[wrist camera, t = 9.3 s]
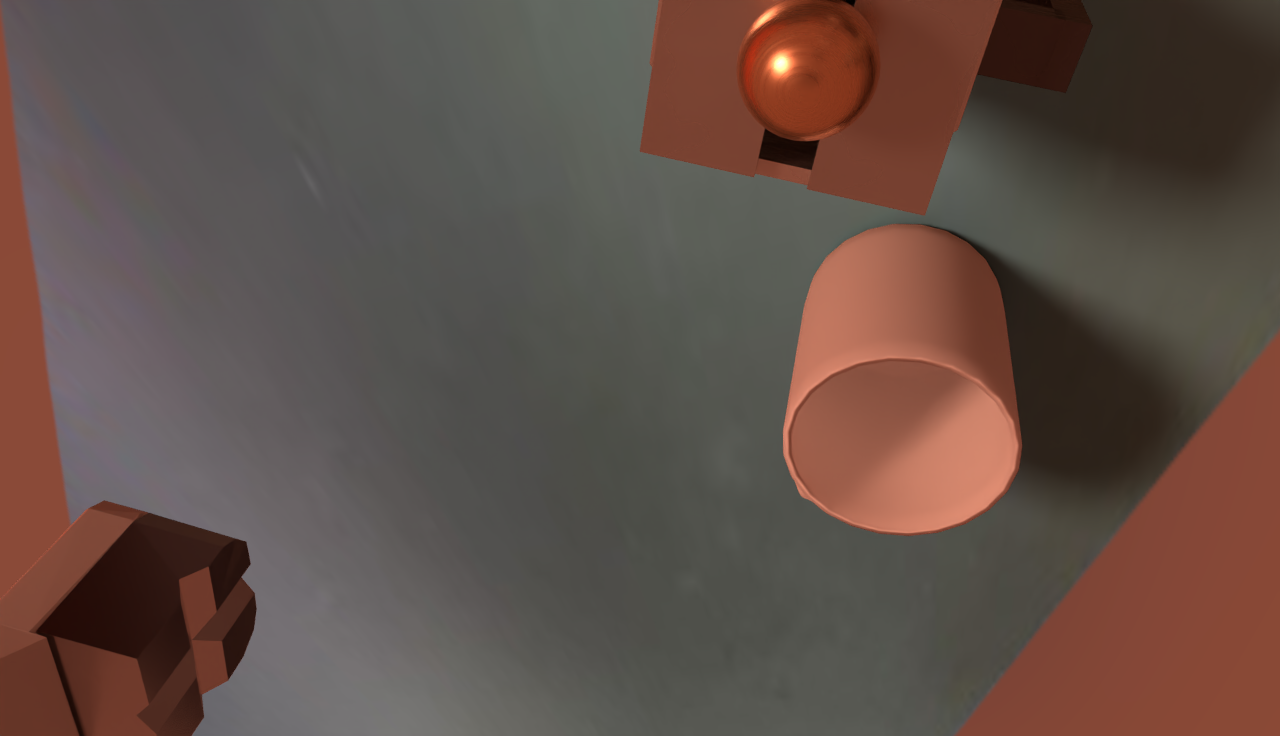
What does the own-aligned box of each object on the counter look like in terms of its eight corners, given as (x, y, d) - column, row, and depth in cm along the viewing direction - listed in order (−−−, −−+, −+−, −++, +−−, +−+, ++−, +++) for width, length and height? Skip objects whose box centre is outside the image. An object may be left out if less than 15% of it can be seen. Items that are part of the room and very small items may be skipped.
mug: (1040, 259, 48) (1069, 407, 39) (924, 439, 56) (926, 600, 46) (852, 188, 48) (836, 318, 39) (761, 377, 56) (730, 525, 46)
